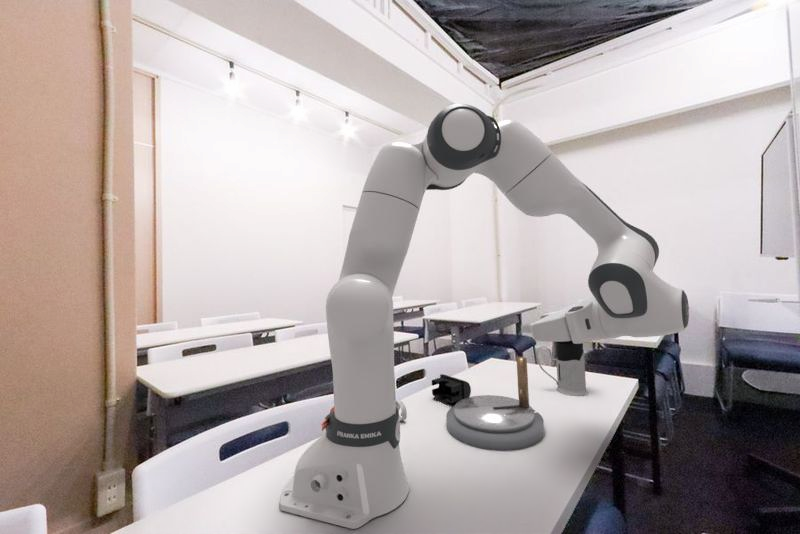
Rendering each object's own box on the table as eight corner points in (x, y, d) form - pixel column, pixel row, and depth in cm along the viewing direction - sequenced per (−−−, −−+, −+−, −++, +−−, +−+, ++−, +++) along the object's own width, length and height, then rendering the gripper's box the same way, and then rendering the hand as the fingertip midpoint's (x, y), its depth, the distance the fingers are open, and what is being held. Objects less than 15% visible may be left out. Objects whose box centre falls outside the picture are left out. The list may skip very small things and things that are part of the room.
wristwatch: (400, 415, 94) (399, 397, 94) (409, 422, 90) (408, 402, 90) (390, 418, 93) (389, 399, 93) (399, 425, 88) (398, 405, 88)
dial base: (444, 447, 76) (443, 435, 76) (448, 407, 98) (448, 397, 98) (555, 452, 71) (554, 439, 71) (533, 409, 94) (532, 399, 94)
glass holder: (591, 396, 101) (588, 345, 101) (539, 394, 105) (537, 345, 105) (583, 386, 110) (581, 339, 110) (536, 385, 113) (533, 339, 114)
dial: (465, 436, 75) (462, 373, 75) (447, 403, 94) (444, 353, 94) (549, 428, 76) (546, 367, 76) (514, 398, 95) (512, 349, 95)
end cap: (471, 402, 102) (470, 379, 102) (454, 408, 97) (453, 384, 98) (448, 393, 110) (447, 372, 110) (431, 399, 105) (430, 377, 106)
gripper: (605, 294, 80) (548, 302, 90) (569, 313, 66) (507, 320, 76) (613, 321, 79) (555, 326, 90) (577, 346, 66) (514, 348, 76)
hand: (532, 323), depth 83 cm, fingers open, 8 cm apart
